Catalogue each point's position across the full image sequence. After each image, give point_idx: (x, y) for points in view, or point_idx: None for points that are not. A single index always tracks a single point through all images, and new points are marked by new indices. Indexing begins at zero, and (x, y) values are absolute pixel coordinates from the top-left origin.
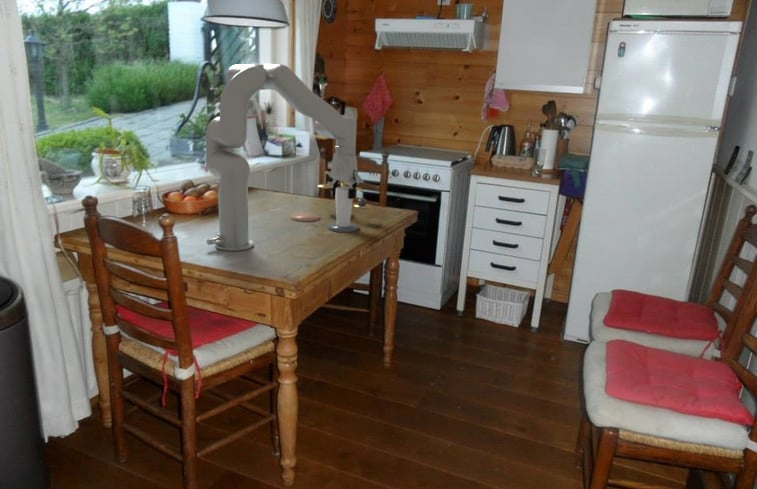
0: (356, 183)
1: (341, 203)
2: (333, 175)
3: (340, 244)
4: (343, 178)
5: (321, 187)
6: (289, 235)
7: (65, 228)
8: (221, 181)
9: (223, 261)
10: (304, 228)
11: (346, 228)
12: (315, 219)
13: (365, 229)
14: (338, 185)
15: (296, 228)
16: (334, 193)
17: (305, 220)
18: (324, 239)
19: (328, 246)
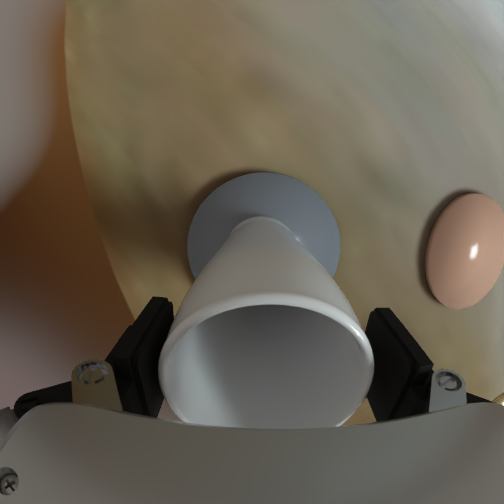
0: (16, 407)
1: (233, 246)
2: (494, 448)
3: (110, 63)
4: (148, 470)
5: (502, 397)
6: (343, 5)
7: None
8: None
9: None
10: (385, 117)
11: (218, 226)
12: (428, 253)
13: None
14: (386, 412)
15: (405, 96)
16: (376, 318)
17: (447, 209)
18: (198, 51)
19: (129, 17)
